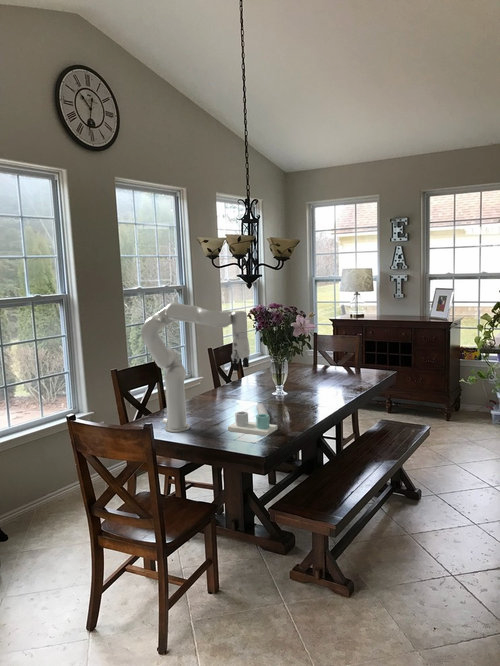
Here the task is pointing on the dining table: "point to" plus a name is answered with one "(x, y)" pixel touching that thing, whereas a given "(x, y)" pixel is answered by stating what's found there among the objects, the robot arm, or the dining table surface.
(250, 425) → the pin board
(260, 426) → the sleeve teal
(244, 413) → the sleeve grey
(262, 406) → the tube
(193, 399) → the dining table surface
